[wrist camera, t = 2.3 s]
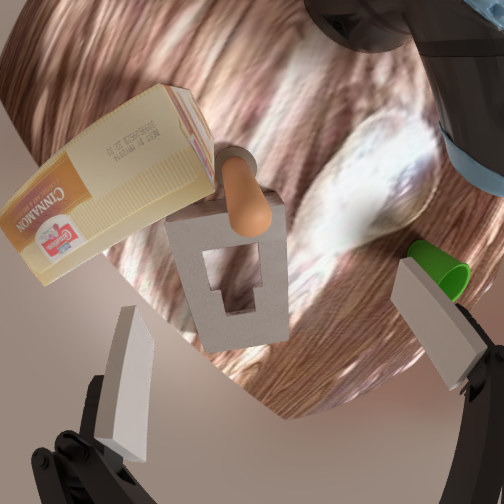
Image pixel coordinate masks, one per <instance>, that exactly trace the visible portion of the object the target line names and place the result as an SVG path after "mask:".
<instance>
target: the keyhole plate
mask: <svg viewBox="0 0 504 504" xmlns="http://www.w3.org/2000/svg"><path fill="white" fill-rule="evenodd" d="M263 195H264V197H265V199H266V201H267V203H268V205H269V207H270V209H271V212H272V221H271V224H270V226H269V228H268V229H267V230H266V231H265V232H264V233H262V234H261V235H258V236H255V237H244V236H241V235H239V234H237V233H236V232H235V231H234V230H233V229H232V227H231V225H230V222H229V216H228V209H227V203H226V199H220V200H214V201H207V202H201V203H196V204H190V205H188V206H186V207H184V208H182V209H180V210H178V211H176V212H174V213H172V214H170V215H168V216H166V220H165V223H164V224H165V227H166V231H167V235H168V238H169V242H170V246H171V249H172V253H173V256H174V260H175V263H176V266H177V270H178V273H179V276H180V280H181V283H182V286H183V289H184V293H185V296H186V299H187V302H188V305H189V308H190V311H191V314H192V317H193V320H194V323H195V326H196V329H197V332H198V334H199V337H200V340H201V343H202V346H203V348H204V351H205V354H206V353H213V352H221V351H228V350H235V349H241V348H247V347H253V346H259V345H265V344H270V343H276V342H281V341H286V340H289V314H288V271H287V242H286V219H285V204H284V202H283V201H282V199H281V198H280V196H279V194H278V193H277V191H276V192H268V193H263ZM257 242H258V252H259V261H260V271H261V281H262V283H259V284H253V285H252V286H253V294H254V302H255V308H252V309H246V310H240V311H234V312H227V313H226V312H225V307H224V303H223V298H222V294H221V290H215V291H211V288H210V284H209V279H208V275H207V271H206V267H205V262H204V258H203V254H202V251H206V250H213V249H219V248H225V247H232V246H238V245H244V244H251V243H257Z"/></svg>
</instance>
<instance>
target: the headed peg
mask: <svg viewBox="0 0 504 504" xmlns="http://www.w3.org/2000/svg"><path fill="white" fill-rule="evenodd" d="M214 171H215V179H216V181H217V182H218V183H219V184H220V185H221V186H223V187H224V190H225V196H226V203H227V209H228V216H229V222H230V225H231V227H232V229H233V230H234V231H235V232H236V233H237V234H239V235H241V236H244V237H255V236H258V235H261V234H262V233H264V232H265V231H266V230H267V229H268V228H269V226H270V224H271V221H272V212H271V209H270V207H269V205H268V203H267V201H266V199H265V197H264V195H263V193H262V191H261V189H260V187H259V185H258V183H257V181H256V179H255V176H256V172H257V165H256V161H255V159H254V157H253V156H252V154H251V153H250V152H249V151H248V150H246V149H244V148H242V147H237V146H232V147H228V148H225V149H223V150H222V151H221V152H219V153H218V155H217V156H216V157H215V159H214Z"/></svg>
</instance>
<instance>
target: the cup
mask: <svg viewBox="0 0 504 504" xmlns="http://www.w3.org/2000/svg"><path fill="white" fill-rule="evenodd" d="M408 257H412V258H413V259H414V260H415V261H416V262H417V263H418V264H419V265H420V266H421V268H422V269H423V270H424V271H425V272H426V273H427V274H428V275H429V276H430V277H431V278H432V279H433V281H434V282H435V283H436V284H437V285H438V286H439V287H440V288H441V289H442V291H443V292H444V293H445V294H446V295H447V296H448V298H449V299H450V300H451V301H452V302H454V301H455V300H456V299H457V298H458V297H459V296H460V295H461V293H462V292H463V291H464V289H465V287H466V286H467V284H468V281H469V278H470V267H469V266H468V264H466V263H461V262H460V261H458V260H457V259H455V258H453V257H452V256H450V255H449V254H447V253H446V252H444V251H442V250H441V249H439V248H437V247H436V246H434V245H433V244H431V243H429V242H428V241H426V240H417V241H416V242H414V243H413V244H412V245H411V246H410V248H409V250H408V253H407V258H408Z"/></svg>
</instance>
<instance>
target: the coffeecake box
mask: <svg viewBox="0 0 504 504" xmlns="http://www.w3.org/2000/svg"><path fill="white" fill-rule="evenodd" d="M214 192H215V171H214V138H213V135H212V133H211V131H210V129H209V127H208V125H207V122H206V120H205V118H204V116H203V114H202V112H201V110H200V108H199V106H198V104H197V102H196V100H195V98H194V97H193V95H192V93H191V91H190V89H188V90H187V89H183V88H178V87H174V86H168V85H164V84H160V83H158V84H156V85H154V86H152V87H150V88H148V89H146V90H144V91H143V92H141V93H139V94H137V95H136V96H134V97H132V98H131V99H129V100H127V101H126V102H124V103H123V104H121V105H119V106H118V107H116V108H115V109H113V110H112V111H110V112H109V113H107V114H106V115H104V116H103V117H101V118H100V119H98V120H97V121H96V122H94V123H93V124H91V125H90V126H89V127H87V128H86V129H85V130H83V131H82V132H81V133H80V134H78V135H77V136H76V137H74V138H73V139H72V140H71V141H69V142H68V143H67V144H66V145H65V146H63V147H62V148H61V149H60V150H59V151H58V152H56V153H55V154H54V155H53V156H52V157H51V158H50V159H48V160H47V161H46V162H45V163H44V164H43V165H42V166H41V167H40V168H39V169H38V170H36V171H35V172H34V173H33V174H32V175H31V176H30V177H29V178H28V179H27V180H26V181H25V182H24V183H23V184H22V185H21V186H20V188H18V189H17V191H15V193H14V194H13V195H12V196H11V197H10V198H9V199H8V200H7V201H6V203H5V204H4V205H3V206H2V208H1V209H0V227H1V229H2V230H3V232H4V233H5V235H6V236H7V238H8V239H9V241H10V242H11V243H12V245H13V246H14V247H15V248H16V250H17V251H18V252H19V254H20V255H21V256H22V258H23V260H24V261H25V263H26V264H27V266H28V267H29V268H30V270H31V271H32V272H33V273H34V275H35V276H36V277H37V278H38V279H39V281H40V282H41V283H42V284H43V285H44V286H47V285H48V284H50V283H52V282H53V281H55V280H56V279H58V278H60V277H61V276H63V275H64V274H66V273H68V272H69V271H71V270H73V269H74V268H76V267H78V266H79V265H81V264H82V263H84V262H86V261H87V260H89V259H91V258H92V257H94V256H96V255H97V254H99V253H101V252H103V251H104V250H106V249H108V248H110V247H111V246H113V245H115V244H117V243H118V242H120V241H122V240H124V239H125V238H127V237H129V236H131V235H133V234H134V233H136V232H138V231H140V230H142V229H143V228H145V227H147V226H149V225H151V224H153V223H155V222H157V221H158V220H160V219H162V218H164V217H166V216H168V215H170V214H172V213H174V212H176V211H178V210H180V209H182V208H184V207H186V206H188V205H190V204H192V203H194V202H196V201H198V200H200V199H202V198H204V197H206V196H208V195H210V194H212V193H214Z"/></svg>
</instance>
